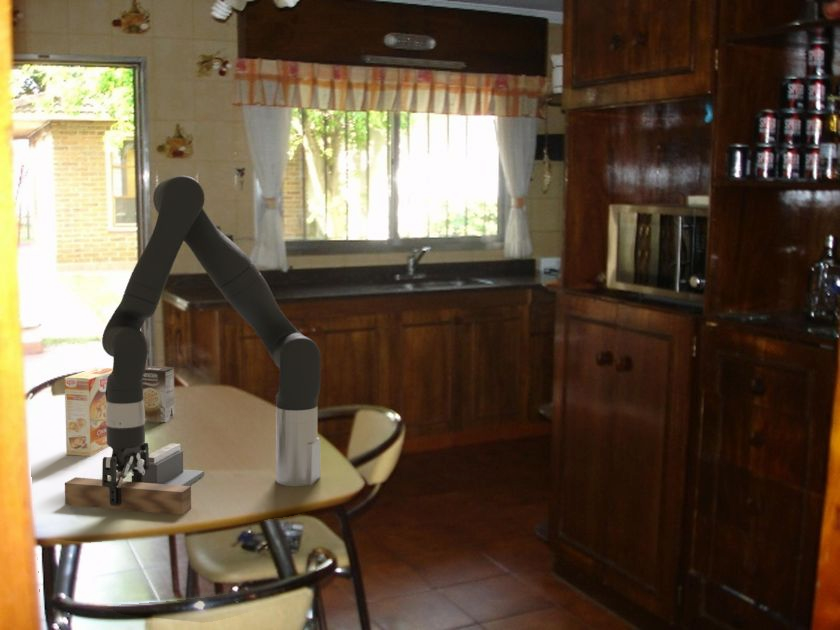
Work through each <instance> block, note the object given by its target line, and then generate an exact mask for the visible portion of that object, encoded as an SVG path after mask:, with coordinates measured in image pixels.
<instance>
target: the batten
mask: <svg viewBox="0 0 840 630" xmlns="http://www.w3.org/2000/svg"><path fill="white" fill-rule="evenodd" d="M116 482H117V480H116ZM191 488H192V487H191V485H190V486H180V485H167V484H154V483H141V482H130V481H128V480H126V481H125V480H123V481H122V484H121V501H122V503H121V505H119V506H112V505H110V490H109V487H103V486H102V478H90V477H89V478H88V477H87V478H85V477H73V478H72V479H70V480H68V481H65V482H64V500H65V501H64V502H65V503H64V504H65V506H74V507H84V508H85V507H86V508H96V509H98V508H99V509H109V510H121V511H134V512H145V513H146V512H148V513H156V514H157V513H158V514H170V515H184V514H186V513H187V512H188V511H190V510H191V509H192V490H191Z"/></svg>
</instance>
